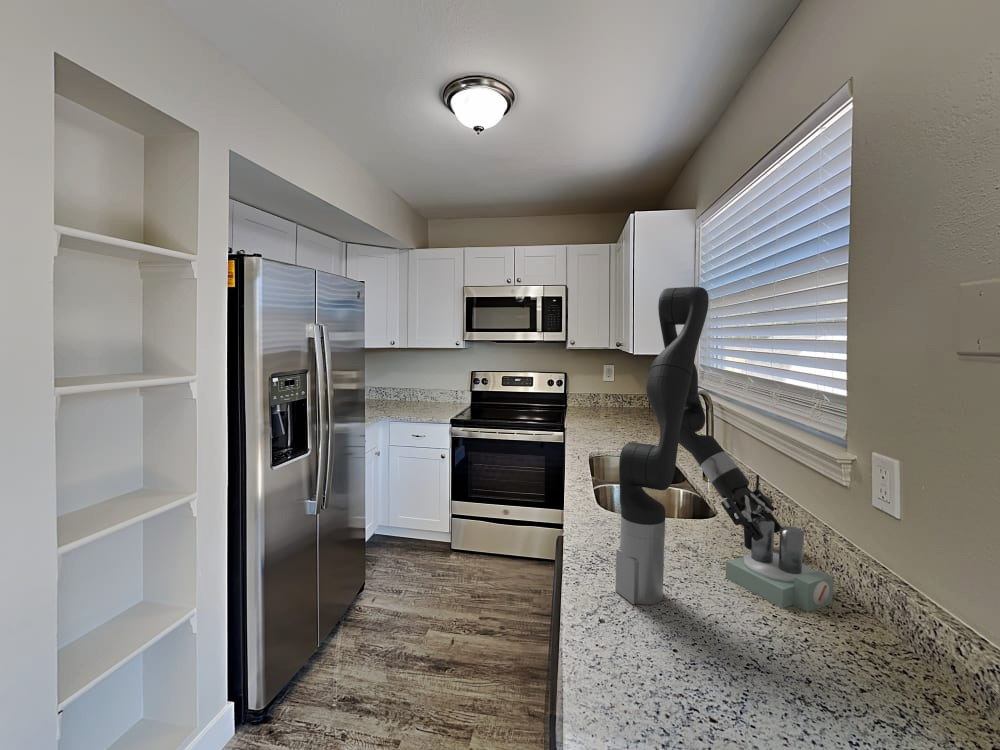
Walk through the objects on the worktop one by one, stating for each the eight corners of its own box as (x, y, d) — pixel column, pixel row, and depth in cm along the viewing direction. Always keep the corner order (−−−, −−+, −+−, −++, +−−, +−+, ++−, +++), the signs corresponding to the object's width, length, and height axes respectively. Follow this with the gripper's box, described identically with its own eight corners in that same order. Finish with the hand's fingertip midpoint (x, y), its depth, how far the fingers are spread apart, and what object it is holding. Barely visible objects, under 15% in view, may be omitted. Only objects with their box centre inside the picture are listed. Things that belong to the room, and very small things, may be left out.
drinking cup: (768, 556, 121) (772, 480, 120) (736, 548, 126) (739, 475, 125) (772, 546, 128) (776, 474, 126) (741, 539, 132) (744, 469, 131)
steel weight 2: (793, 575, 101) (795, 535, 100) (773, 566, 105) (775, 527, 104) (806, 571, 103) (808, 532, 102) (787, 563, 107) (788, 524, 106)
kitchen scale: (798, 617, 94) (800, 588, 94) (725, 577, 110) (726, 552, 110) (844, 601, 100) (846, 574, 100) (769, 566, 116) (770, 542, 116)
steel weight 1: (764, 564, 106) (765, 526, 105) (746, 556, 110) (748, 519, 109) (777, 561, 108) (778, 523, 107) (759, 553, 112) (761, 516, 111)
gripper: (718, 470, 110) (766, 534, 101) (750, 462, 118) (797, 521, 109) (697, 486, 115) (741, 549, 106) (729, 478, 122) (773, 535, 114)
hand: (769, 535), depth 107 cm, fingers open, 8 cm apart
